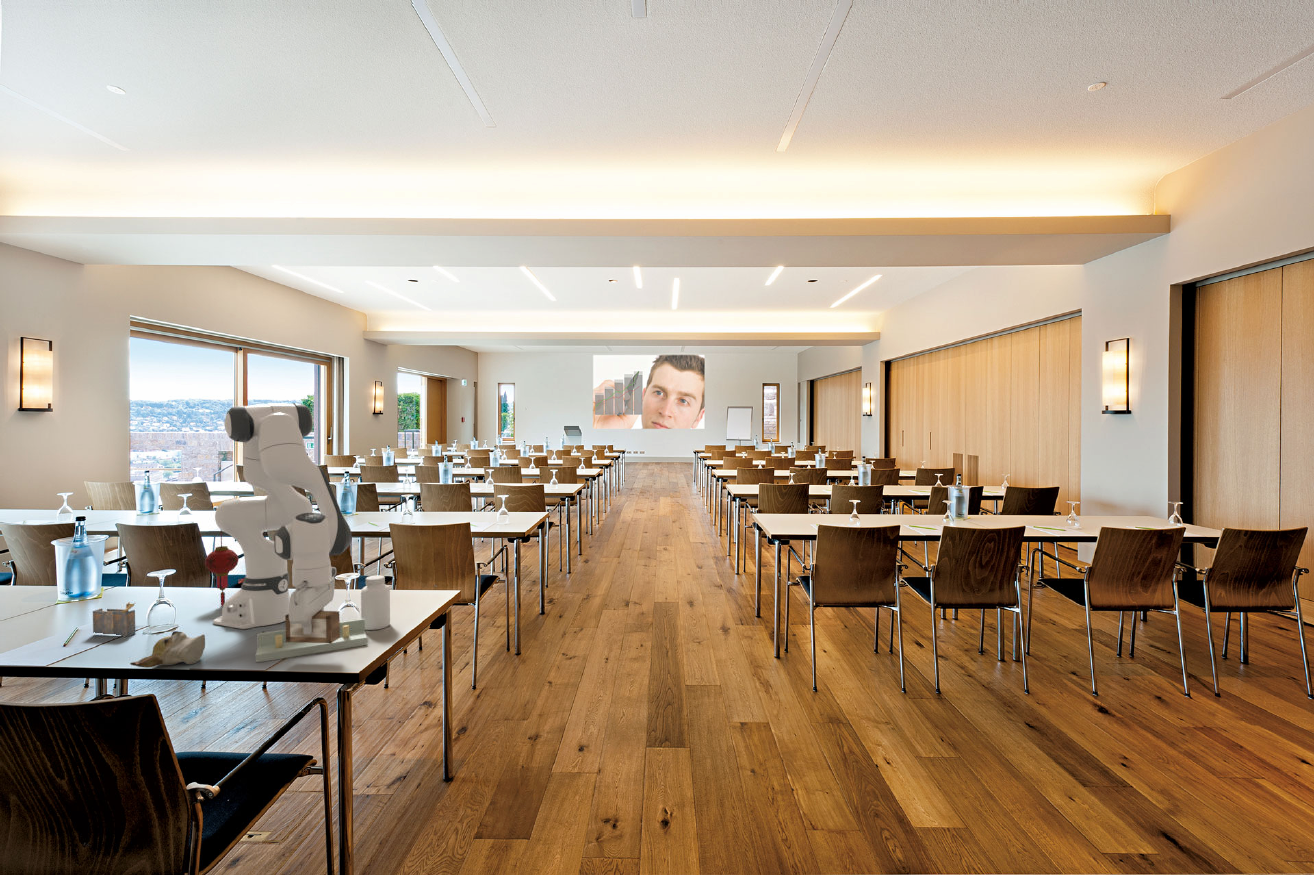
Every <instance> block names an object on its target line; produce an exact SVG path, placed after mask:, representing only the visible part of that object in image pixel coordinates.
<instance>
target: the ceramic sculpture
mask: <svg viewBox="0 0 1314 875" xmlns="http://www.w3.org/2000/svg"><path fill="white" fill-rule="evenodd" d="M205 648H206V636H205V634H201V635H198V636H196V637H188V636H187V634H186V633H184V632H183V631H178V630H177V631H176V630H175V631H172V632H171V634H170V635H167V636H165V637H163V638H161V639H159V640H157V642H155V644H154V645H153V647H152V653H151V655H149V656H145V657H142V658H140V659H139V660H138V661H133V662H129V664H130V665H131V666H135V667H140V668H154V667H157V666H160V665H161V666H173V665H178V664H180V663H182V662H184V663H185V664H187V665H194V664H197V663H198V662H199V661H200V659H201V658H202V657H203V653H204V650H205Z"/></svg>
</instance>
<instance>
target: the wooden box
mask: <svg viewBox="0 0 1314 875" xmlns="http://www.w3.org/2000/svg"><path fill="white" fill-rule="evenodd" d="M285 620H286V621H285V630H286V642H303V643H332V642H334V641H335V640H337V639H339V638H340V622H341V621H340V611H338V610H335V611H334V610H324V611H319V612H317V613H316V614H315V615H314V616H312V620H311V625H313V632H312V633H310V634H304V633H303V626H302V624H301V623H299V624H291V623H290V621H289V614H287V615H285Z"/></svg>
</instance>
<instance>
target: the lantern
mask: <svg viewBox="0 0 1314 875" xmlns="http://www.w3.org/2000/svg"><path fill="white" fill-rule="evenodd" d="M222 533H223V531H222V530H221V529H220V546H216V547H215V549H214V550H213V551H212V552H210V553H208V555H207V556H206V558H205V560H204V565H205V567H206V569H207V570H208V571H209V572H210V573H213V574H215V576H216V589H218V590H220V606H221V605H224V603H225V602H226V593H225V592H224V590H225V589H226V588H229V577H228V576H229V573H230V572H231V571H233V570H234V569H235V568H236V566H238V564H239V556H238V554H237V553H236V552H235V551H234V550H232V549H230V548H229V547H228V546H226V545H223V541H222V540H223V538H222V537H223V536H222Z"/></svg>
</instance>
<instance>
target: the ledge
mask: <svg viewBox="0 0 1314 875" xmlns="http://www.w3.org/2000/svg"><path fill="white" fill-rule="evenodd" d="M367 638H368V637H367V634H366V631H365V619H361V618H357V619H352V620H350V619H349V620H345V621H343V620H342V621H340V638H339V639H337V640H335V641H334V642H332V643H303V642H286V629H281V630H280V629H279V630H275V631H274V630H273V631H267V632H266V631H265V632H260V633H259V632H258V633H257V648H256V653H255V663H263V662H268V661H274V660H282V659H285V658H286V659H287V658H293V657H299V656H300V657H301V656H305V655H306V656H307V655H312V654H313V655H314V654H317V653H319V654H320V653H325V652H329V651H336V650H343V649H349V648H355V647H361V646H367V643H368V641H367Z"/></svg>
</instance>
